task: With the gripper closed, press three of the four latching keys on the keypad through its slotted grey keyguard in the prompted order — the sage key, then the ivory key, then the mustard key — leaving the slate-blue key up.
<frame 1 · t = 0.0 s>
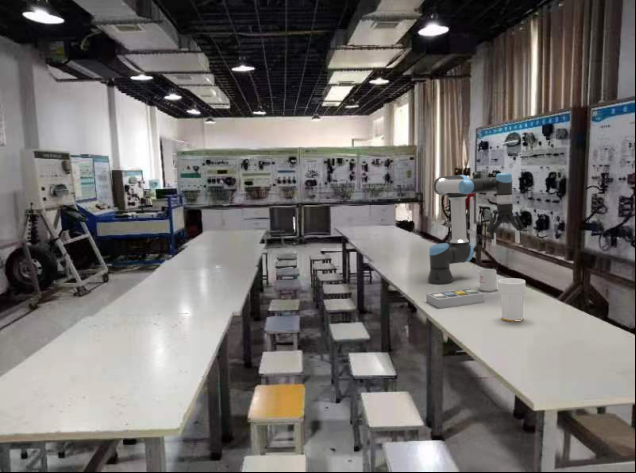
hand: (505, 244, 244), 28 cm above the table, fingers open, 13 cm apart
key mustard: (459, 294, 245), point 4 cm above the table, slide at 0.0 cm
key sage: (470, 292, 246), point 4 cm above the table, slide at 0.0 cm
keypad: (454, 302, 245), on the table
mug: (486, 289, 266), on the table
cup: (512, 319, 212), on the table
key ivory: (438, 297, 243), point 4 cm above the table, slide at 0.0 cm
key slate: (449, 295, 244), point 4 cm above the table, slide at 0.0 cm
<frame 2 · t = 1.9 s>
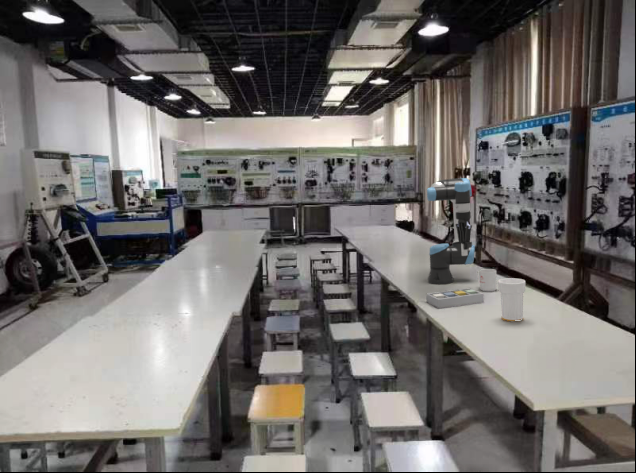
hand: (464, 255, 252), 22 cm above the table, fingers closed
nothing on the table moved.
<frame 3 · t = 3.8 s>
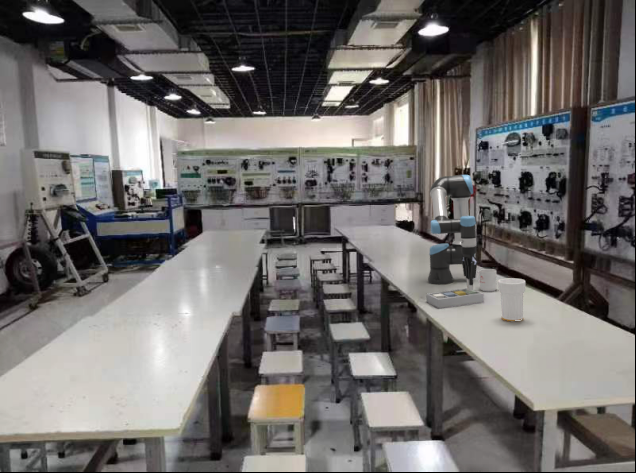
hand: (470, 290, 246), 5 cm above the table, fingers closed
key sage: (470, 293, 246), point 4 cm above the table, slide at 0.2 cm, touching gripper
everything else where it was.
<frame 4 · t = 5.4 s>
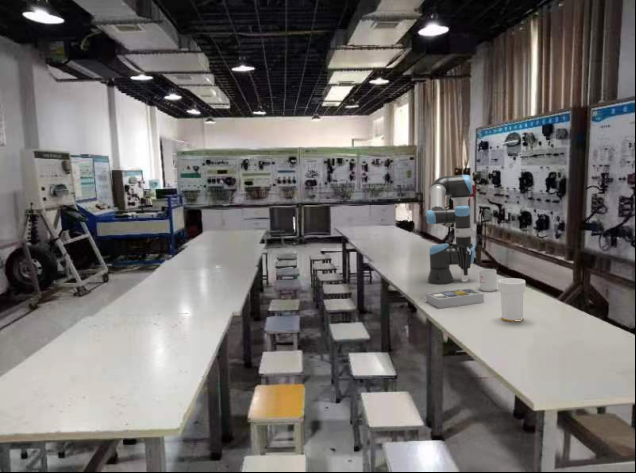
hand: (464, 281, 245), 11 cm above the table, fingers closed
key sage: (470, 296, 247), point 2 cm above the table, slide at 1.9 cm
everything else where it was.
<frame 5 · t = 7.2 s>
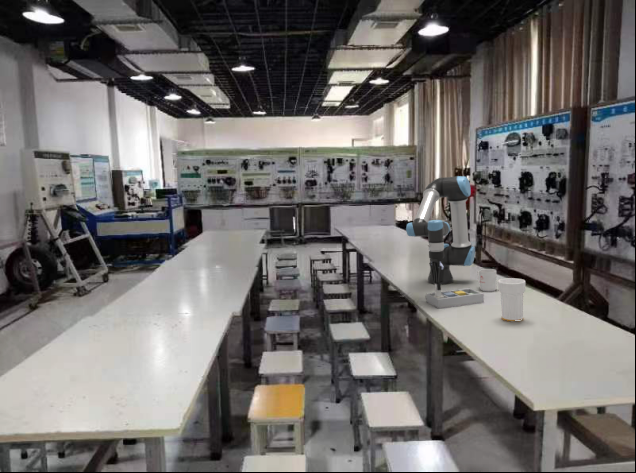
hand: (438, 295, 243), 5 cm above the table, fingers closed
key ivory: (438, 298, 243), point 3 cm above the table, slide at 0.7 cm, touching gripper
everything else where it was.
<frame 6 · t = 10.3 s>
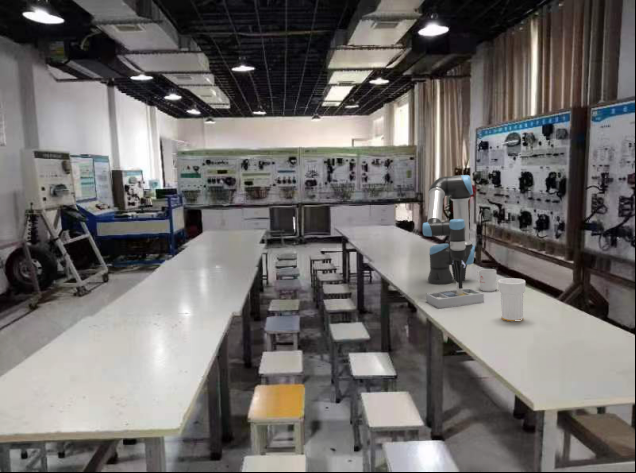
hand: (459, 294, 245), 4 cm above the table, fingers closed
key mustard: (459, 296, 245), point 3 cm above the table, slide at 1.3 cm, touching gripper
key ivory: (438, 300, 243), point 2 cm above the table, slide at 1.9 cm
everything else where it was.
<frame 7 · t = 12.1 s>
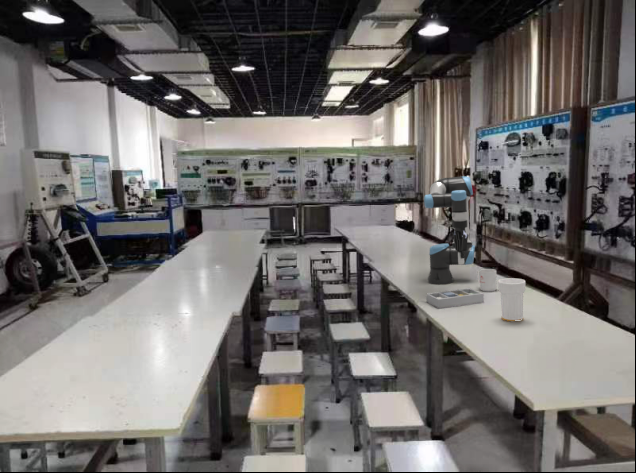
hand: (461, 263, 251), 18 cm above the table, fingers closed
key mustard: (459, 297, 245), point 2 cm above the table, slide at 1.9 cm
everything else where it was.
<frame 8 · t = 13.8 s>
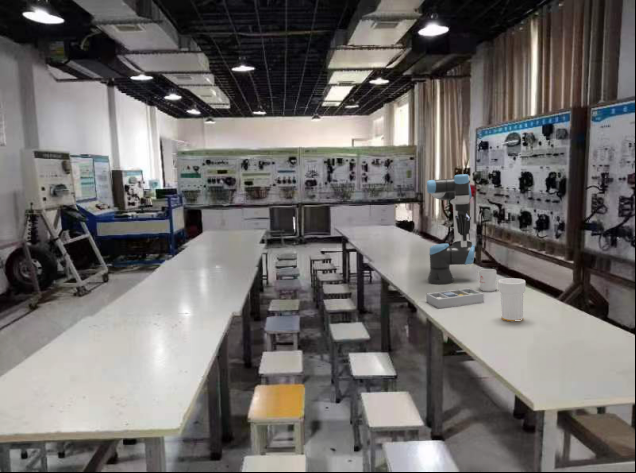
hand: (463, 246, 256), 26 cm above the table, fingers closed
nothing on the table moved.
at the end: key sage slide at 1.9 cm; key ivory slide at 1.9 cm; key mustard slide at 1.9 cm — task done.
